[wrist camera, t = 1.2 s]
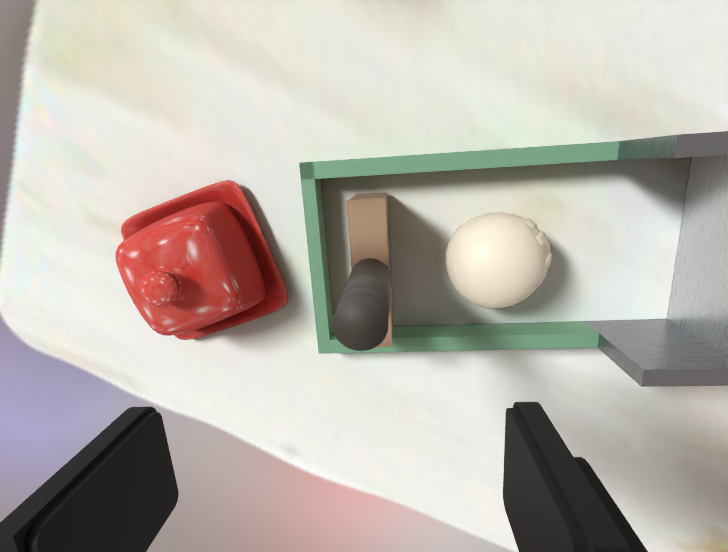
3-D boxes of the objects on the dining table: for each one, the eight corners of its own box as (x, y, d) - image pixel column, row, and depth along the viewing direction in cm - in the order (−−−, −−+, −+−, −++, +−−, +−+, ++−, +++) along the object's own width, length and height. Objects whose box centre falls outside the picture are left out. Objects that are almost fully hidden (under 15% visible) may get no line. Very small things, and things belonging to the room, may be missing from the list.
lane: (306, 163, 30) (299, 162, 28) (601, 143, 29) (619, 141, 26) (323, 341, 35) (318, 353, 32) (583, 334, 33) (597, 347, 30)
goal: (601, 143, 29) (677, 134, 21) (712, 135, 28) (833, 124, 20) (583, 334, 33) (641, 386, 25) (680, 332, 32) (770, 384, 24)
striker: (355, 194, 30) (322, 217, 17) (388, 192, 30) (382, 214, 16) (363, 313, 33) (340, 419, 19) (393, 313, 33) (392, 419, 19)
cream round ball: (542, 274, 31) (580, 301, 25) (454, 301, 33) (469, 333, 26) (522, 194, 30) (557, 201, 24) (430, 224, 31) (440, 240, 25)
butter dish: (243, 173, 31) (189, 175, 23) (297, 301, 34) (266, 343, 26) (124, 220, 33) (35, 238, 25) (184, 338, 36) (122, 389, 28)
